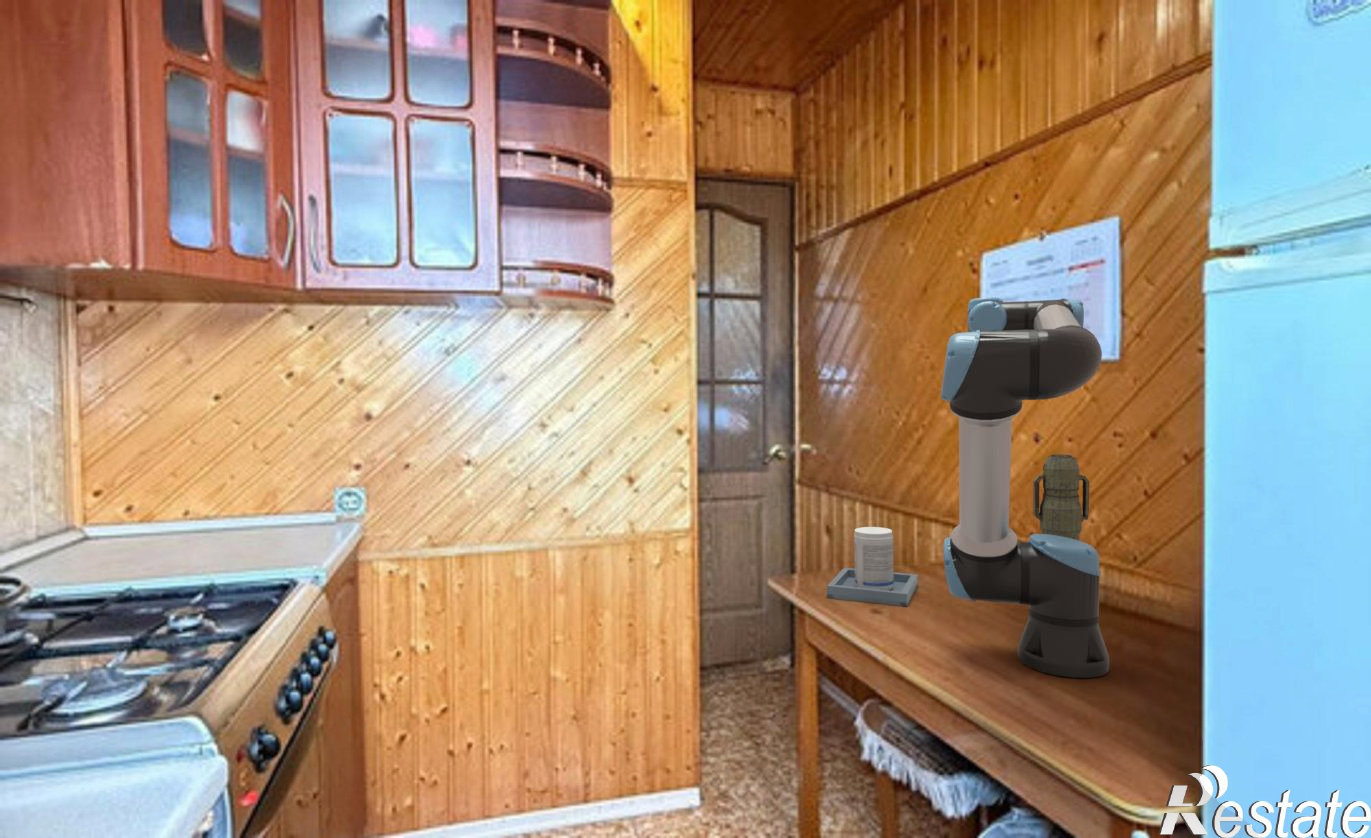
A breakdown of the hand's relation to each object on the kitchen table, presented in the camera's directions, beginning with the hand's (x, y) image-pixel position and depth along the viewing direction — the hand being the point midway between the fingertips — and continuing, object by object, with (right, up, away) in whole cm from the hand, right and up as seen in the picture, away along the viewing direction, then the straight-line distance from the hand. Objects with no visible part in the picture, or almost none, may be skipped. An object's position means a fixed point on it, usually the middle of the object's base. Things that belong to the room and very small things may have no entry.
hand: (984, 459), depth 170 cm
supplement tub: (-21, -33, +16) cm, 43 cm away
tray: (-21, -34, +16) cm, 44 cm away
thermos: (+20, -34, +5) cm, 40 cm away
